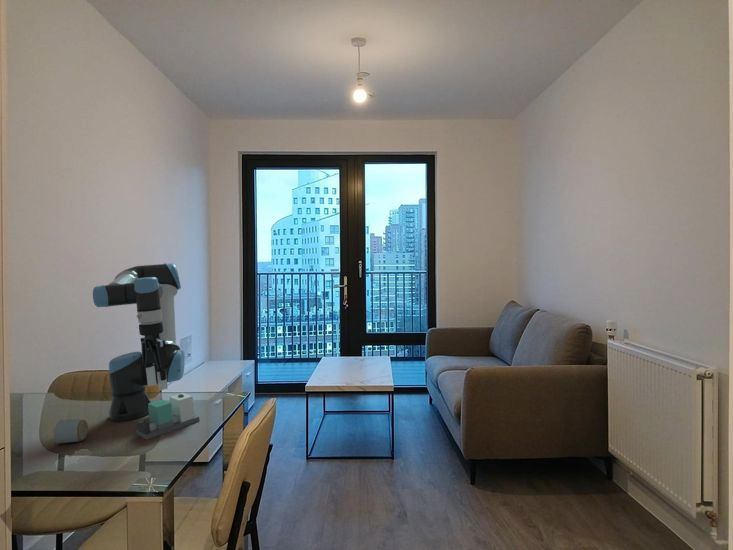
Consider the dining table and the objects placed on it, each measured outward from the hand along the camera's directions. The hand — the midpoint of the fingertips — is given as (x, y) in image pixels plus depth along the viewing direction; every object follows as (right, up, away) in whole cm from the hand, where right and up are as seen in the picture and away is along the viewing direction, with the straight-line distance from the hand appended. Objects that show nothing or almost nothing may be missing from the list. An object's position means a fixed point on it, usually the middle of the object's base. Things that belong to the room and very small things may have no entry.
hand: (157, 387), depth 169 cm
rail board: (+3, -15, +3) cm, 15 cm away
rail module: (+1, -14, +1) cm, 14 cm away
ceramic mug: (-28, -18, -2) cm, 33 cm away
